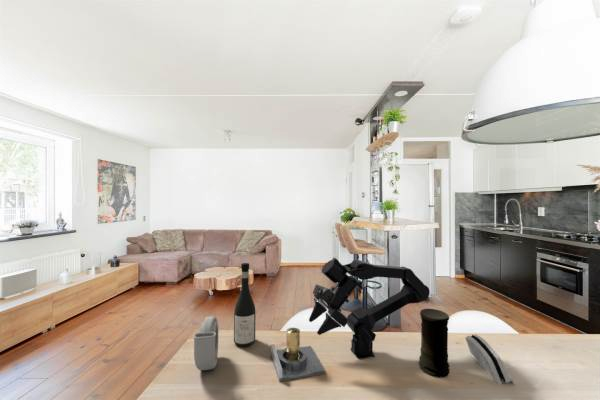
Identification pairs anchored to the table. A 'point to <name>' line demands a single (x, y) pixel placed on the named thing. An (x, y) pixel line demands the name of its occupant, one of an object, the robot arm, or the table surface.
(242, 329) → the wine bottle
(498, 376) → the grey curved piece
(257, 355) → the table surface
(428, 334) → the container
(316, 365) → the jig
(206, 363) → the grey curved holder
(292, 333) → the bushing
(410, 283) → the robot arm
